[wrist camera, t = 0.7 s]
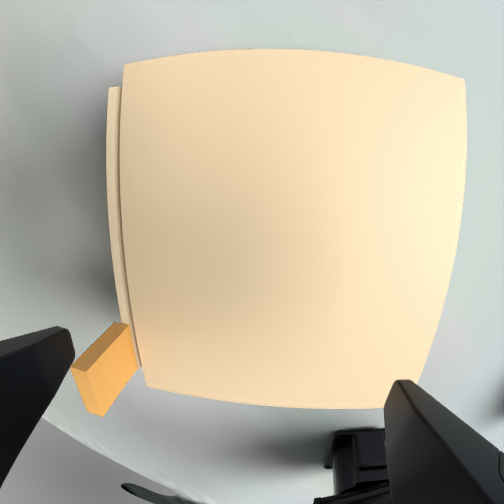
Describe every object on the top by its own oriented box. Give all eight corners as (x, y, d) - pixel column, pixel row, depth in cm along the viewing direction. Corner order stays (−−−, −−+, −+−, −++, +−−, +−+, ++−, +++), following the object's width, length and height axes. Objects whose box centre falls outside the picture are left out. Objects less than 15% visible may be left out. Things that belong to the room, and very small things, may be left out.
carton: (384, 348, 21) (407, 405, 15) (179, 334, 23) (146, 386, 17) (416, 100, 16) (464, 79, 10) (173, 89, 18) (124, 64, 11)
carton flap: (173, 321, 22) (103, 419, 12) (161, 319, 22) (88, 413, 12) (166, 104, 18) (56, 67, 8) (152, 105, 18) (38, 74, 8)
